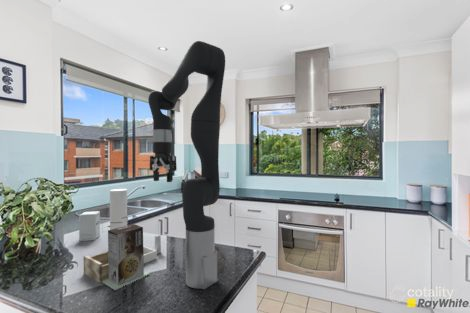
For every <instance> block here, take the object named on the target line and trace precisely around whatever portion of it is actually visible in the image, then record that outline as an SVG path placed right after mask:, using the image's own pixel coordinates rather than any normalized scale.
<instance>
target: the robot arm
mask: <svg viewBox="0 0 470 313" xmlns="http://www.w3.org/2000/svg"><path fill="white" fill-rule="evenodd" d="M225 70H226V55H225V52H224V50H223V49H222V48H220V47H219V46H216V45H213V44H211V43H208V42H205V41H200V40H197V41H194V42H193V43H192V44H191V46H189V48H188V49H187V51H186V53H185V54H184V56H183V58H182V60H181V61H180V63H179V65H178V66H177V69H176V70H175V72H174V74H173V75H172V76H171V77H170V78H169V79H168V80H167V82H166V83H165V84H164V85H162V86H163V87H162V88H161V91H159V90H152V91H151V92H149V94H148V105H149V108H150V109H149V110H150V113H151V116H152V121H153V122H152V123H153V124H152V125H153V126H152V128H153V131H152V153H153V154H154V155H150V156H149V171H152V173H153V174H152V175H153V181H154V182H158V181H160V169H161V168H164V169H165V171H166V182H167V183H172V182H173V180H174V179H173V178H174V177H173V176H174V174H173V173H174V172H176V171H177V170H178V167H177V156H176V155H171V153H173V134H172V118H171V117H170V116H169V115H166V114H164V113H163V112H162V111H171V110H174V109H175V107H176V104H177V102H178V100H179V99H180V98H181V97H182V96H183V95H184V94H185V93H186V92H187V90H188V88H189V76H190V75H191V74H193V73H197V74H199V75H203V76H206V88H205V91H204V94H203V95H202V98H200V101H198V103H197V105H196V106H195V108H194V109H193V112H192V113H191V118H190V138H191V142H192V144H193V146H194V149H195V151H196V153H197V155H198V157H199V160H200V168H201V172H200V177H197V178H196V177H195V178H190V179H188V180H186V181H185V182H184V184H183V186H182V191H181V196H182V197H181V199H182V215H183V216H182V217H183V220H184V224H185V284H186V285H187V287H189V288H193V289H200V290H201V289H202V290H206V289H207V288H209V287H210V286H212V285H214V284H216V283H217V282H218V252H217V251H216V249H215V248H216V246H215V242H216V241H215V239H216V238H215V236H216V235H215V234H216V233H215V231H216V230H215V228H216V225H215V219H214V217H212V216H208V215H205V209H204V207H207V206H212V205H214V204H216V202H217V201H218V200H219V196H220V192H221V191H220V188H221V186H220V171H219V170H220V169H219V167H220V166H219V149H220V148H219V146H220V145H219V144H220V131H221V130H220V129H221V106H222V105H221V103H222V91H223V85H224V77H225Z"/></svg>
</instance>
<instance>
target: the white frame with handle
mask: <svg viewBox="0 0 470 313" xmlns="http://www.w3.org/2000/svg"><path fill="white" fill-rule="evenodd" d="M161 236H162V235H161V234H156V235H154V248H150V247H147V246H145V245H143V256H144V264H146V263H149V262H151V261H153V260H154V261H155V260H156V259H157V255H158V254H160V253H161V252H162V246H161V244H162V242H161V241H162V240H161V239H162V238H161Z"/></svg>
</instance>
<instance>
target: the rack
mask: <svg viewBox="0 0 470 313" xmlns="http://www.w3.org/2000/svg"><path fill="white" fill-rule="evenodd" d="M83 274H84V275H86V276H88V277H89V278H91V279H93V281H95V280H96V281H95V282H97V283H98V282H99V284H101V283H103V280H105V279H108V278H109V264H108V250H107V251H104V252H100V253H98V254H94V255H91V256H89V255H87V254H85V255H83Z"/></svg>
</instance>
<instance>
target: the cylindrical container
mask: <svg viewBox="0 0 470 313" xmlns="http://www.w3.org/2000/svg"><path fill="white" fill-rule="evenodd" d="M127 225H128V189H127V188H115V189H110V190H109V230H112V229H116V228H119V227H123V226H127Z"/></svg>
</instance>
